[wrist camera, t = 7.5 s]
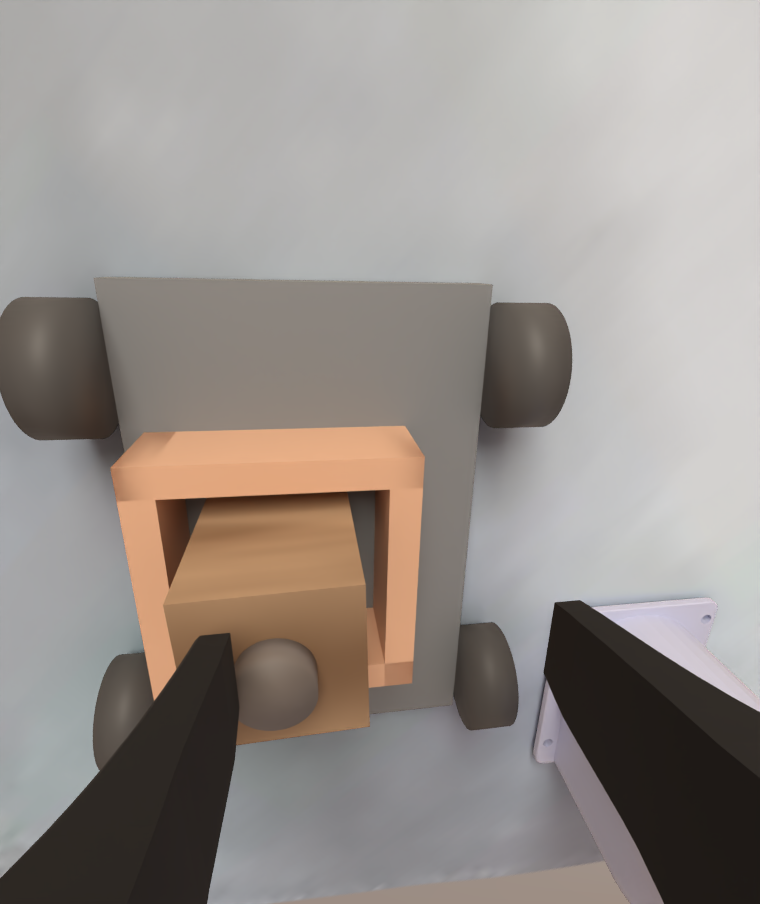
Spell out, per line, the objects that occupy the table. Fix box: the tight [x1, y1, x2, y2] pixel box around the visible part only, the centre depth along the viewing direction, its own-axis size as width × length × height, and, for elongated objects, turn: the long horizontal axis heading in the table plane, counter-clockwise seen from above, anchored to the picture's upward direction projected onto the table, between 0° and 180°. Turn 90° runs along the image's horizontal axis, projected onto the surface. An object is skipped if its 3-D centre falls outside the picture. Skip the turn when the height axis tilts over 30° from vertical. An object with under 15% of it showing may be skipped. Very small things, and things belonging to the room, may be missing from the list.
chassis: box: [0, 277, 572, 770], centre depth 17 cm, size 18×15×4 cm
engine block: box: [163, 491, 370, 745], centre depth 15 cm, size 4×4×7 cm
